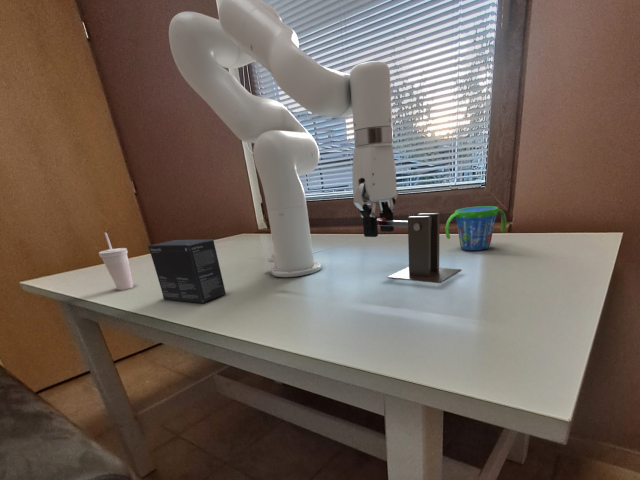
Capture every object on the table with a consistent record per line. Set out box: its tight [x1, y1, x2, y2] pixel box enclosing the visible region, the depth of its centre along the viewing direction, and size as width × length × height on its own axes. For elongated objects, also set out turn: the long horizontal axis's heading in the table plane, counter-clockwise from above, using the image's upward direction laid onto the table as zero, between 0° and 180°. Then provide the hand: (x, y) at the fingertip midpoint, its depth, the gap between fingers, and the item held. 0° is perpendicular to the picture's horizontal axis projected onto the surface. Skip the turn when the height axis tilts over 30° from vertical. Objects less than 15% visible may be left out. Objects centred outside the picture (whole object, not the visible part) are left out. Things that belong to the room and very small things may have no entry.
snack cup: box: [444, 205, 507, 252], centre depth 99 cm, size 16×10×10 cm
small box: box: [147, 238, 227, 304], centre depth 81 cm, size 13×7×12 cm, turn 61°
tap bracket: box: [387, 212, 462, 284], centre depth 77 cm, size 12×10×13 cm
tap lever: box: [377, 217, 433, 231], centre depth 78 cm, size 13×6×2 cm, turn 52°
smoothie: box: [98, 232, 134, 291], centre depth 95 cm, size 6×6×14 cm
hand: (379, 233), depth 82 cm, fingers closed on tap lever, 5 cm apart
